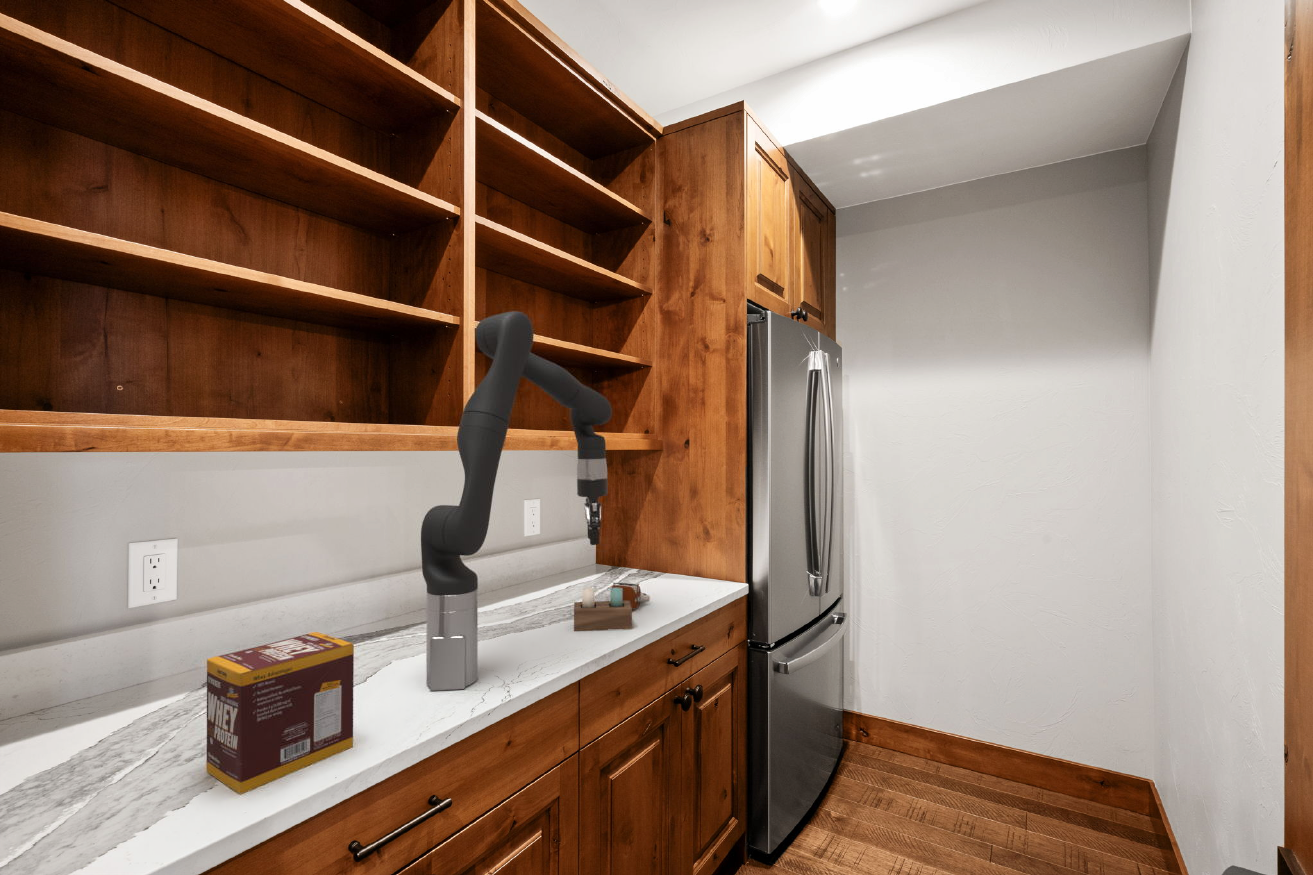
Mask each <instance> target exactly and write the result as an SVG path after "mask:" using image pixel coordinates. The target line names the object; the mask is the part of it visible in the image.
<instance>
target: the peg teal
mask: <svg viewBox="0 0 1313 875" xmlns="http://www.w3.org/2000/svg"><path fill="white" fill-rule="evenodd" d="M610 601H611V607H623V589H622V588H619V587H615V588H612V587H611V588H610Z"/></svg>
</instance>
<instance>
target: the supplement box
mask: <svg viewBox="0 0 1313 875" xmlns="http://www.w3.org/2000/svg"><path fill="white" fill-rule="evenodd" d="M354 645H355V644H354V643H352V642H349V641H347V640H343V639H340V638H337V637H334V636H330V635H327V634H325V633H322V632H318V631H314V632H313V631H312V632H310V633H305V634H302V635H299V636H294V637H291V638H287V639H282V640H279V641H275V642H271V643H267V644H263V645H258V646H254V647H251V648H246V649H242V650H237V651H234V652H229V653H226V654H220V655H217V656H213V657H209V658H206V761H205V763H206V768H205V771H206V772H207V773H209V775H211V776H213V777H214V778H215V779H217V780H218V781H220V782H221V783H222V784H224V785H226V786H227V787H229V788H230V789H232V790H233V791H235V792H236V793H238V794H240V795H242V794H244V793H247V792H249V791H251V790H254V789H257V788H259V787H262V786H265V785H267V784H269V783H271V782H274V781H276V780H278V779H280V778H283V777H285V776H287V775H290V774H292V773H295V772H297V771H300V770H302V769H304V768H306V767H309V766H311V765H314V764H315V763H318V762H321V761H324V760H326V759H328V758H330V757H332V756H335V755H337V754H340V753H342V752H345V751H347V750H350V749H352V748H353V747H354V676H355V675H354V669H355V668H354V667H355V665H354V658H355V657H354V655H355V653H354V652H355V649H354V647H355V646H354Z"/></svg>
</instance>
